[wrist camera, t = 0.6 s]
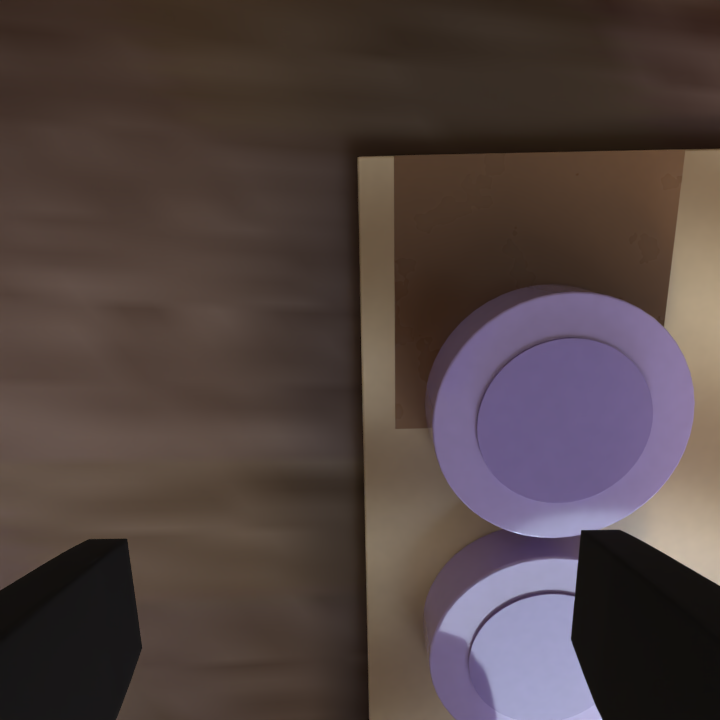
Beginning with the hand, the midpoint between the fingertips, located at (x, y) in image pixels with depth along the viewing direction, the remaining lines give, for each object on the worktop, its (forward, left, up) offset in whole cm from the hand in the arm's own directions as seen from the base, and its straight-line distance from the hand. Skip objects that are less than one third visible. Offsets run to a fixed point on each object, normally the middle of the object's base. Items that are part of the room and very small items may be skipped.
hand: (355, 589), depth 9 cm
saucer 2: (-8, -6, -8) cm, 13 cm away
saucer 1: (0, -6, -8) cm, 10 cm away
